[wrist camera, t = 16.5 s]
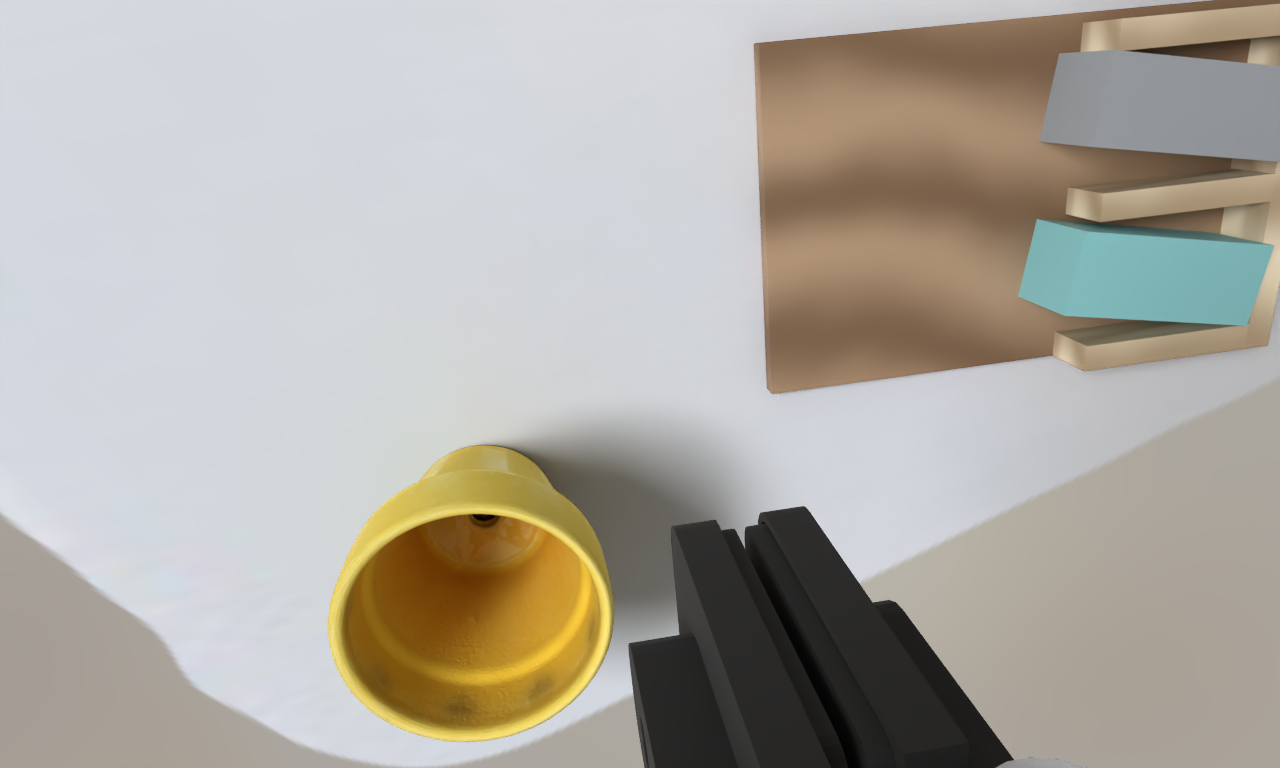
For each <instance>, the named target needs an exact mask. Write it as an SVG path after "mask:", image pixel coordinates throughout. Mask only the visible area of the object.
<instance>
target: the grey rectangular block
mask: <svg viewBox="0 0 1280 768" xmlns="http://www.w3.org/2000/svg"><path fill="white" fill-rule="evenodd" d="M1039 142H1049V143H1058V144H1068V145H1077V146H1087V147H1098V148H1111V149H1124V150H1136V151H1149V152H1161V153H1174V154H1187V155H1199V156H1212V157H1225V158H1237V159H1250V160H1263V161H1275V162H1280V66H1270V65H1260V64H1250V63H1240V62H1230V61H1221V60H1211V59H1201V58H1191V57H1181V56H1171V55H1161V54H1151V53H1141V52H1131V51H1121V50H1106V51H1089V52H1073V53H1059V57H1058V61H1057V66H1056V70H1055V74H1054V79H1053V83H1052V88H1051V92H1050V96H1049V101H1048V105H1047V110H1046V114H1045V118H1044V123H1043V127H1042V131H1041V136H1040V140H1039Z"/></svg>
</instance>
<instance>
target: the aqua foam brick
mask: <svg viewBox="0 0 1280 768" xmlns="http://www.w3.org/2000/svg"><path fill="white" fill-rule="evenodd" d="M1273 248H1274V245H1270V244H1265V243H1260V242H1256V241H1251V240H1246V239H1241V238H1237V237H1232V236H1227V235H1222V234H1218V233H1213V232H1203V231H1190V230H1177V229H1164V228H1151V227H1137V226H1124V225H1111V224H1098V223H1084V222H1071V221H1058V220H1045V219H1037V221H1036V225H1035V229H1034V233H1033V238H1032V242H1031V246H1030V250H1029V254H1028V258H1027V262H1026V266H1025V270H1024V274H1023V278H1022V283H1021V287H1020V291H1019V295H1018V297H1021V298H1023V299H1025V300H1028V301H1030V302H1033V303H1035V304H1037V305H1040V306H1042V307H1045V308H1047V309H1049V310H1052V311H1054V312H1057V313H1059V314H1061V315H1064V316H1076V317H1094V318H1112V319H1131V320H1149V321H1167V322H1185V323H1204V324H1222V325H1240V326H1247V324H1248V321H1249V318H1250V315H1251V312H1252V309H1253V306H1254V304H1255V301H1256V298H1257V295H1258V292H1259V289H1260V286H1261V283H1262V280H1263V277H1264V274H1265V271H1266V268H1267V265H1268V263H1269V260H1270V257H1271V254H1272V251H1273Z"/></svg>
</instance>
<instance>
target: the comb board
mask: <svg viewBox="0 0 1280 768" xmlns="http://www.w3.org/2000/svg"><path fill="white" fill-rule="evenodd" d="M1106 50H1121V51H1131V52H1141V53H1151V54H1161V55H1171V56H1181V57H1191V58H1201V59H1211V60H1221V61H1230V62H1240V63H1250V64H1260V65H1270V66H1280V0H1213V1H1202V2H1192V3H1181V4H1170V5H1160V6H1149V7H1138V8H1127V9H1117V10H1106V11H1095V12H1085V13H1074V14H1063V15H1052V16H1042V17H1031V18H1020V19H1010V20H999V21H988V22H978V23H967V24H956V25H945V26H935V27H924V28H913V29H903V30H892V31H881V32H870V33H860V34H849V35H838V36H828V37H817V38H806V39H795V40H785V41H774V42H763V43H756V44H754V59H755V86H756V112H757V138H758V165H759V191H760V217H761V244H762V270H763V296H764V322H765V349H766V375H767V389H768V390H769V391H770V393H771V394H777V393H784V392H791V391H799V390H806V389H813V388H820V387H828V386H835V385H842V384H849V383H857V382H864V381H871V380H878V379H885V378H893V377H900V376H907V375H914V374H922V373H929V372H936V371H943V370H951V369H958V368H965V367H972V366H979V365H987V364H994V363H1001V362H1008V361H1016V360H1023V359H1030V358H1037V357H1045V356H1052V355H1053V356H1055V357H1057V358H1059V359H1061V360H1063V361H1065V362H1067V363H1069V364H1071V365H1073V366H1075V367H1077V368H1079V369H1081V370H1083V371H1091V370H1098V369H1105V368H1112V367H1119V366H1126V365H1133V364H1141V363H1148V362H1155V361H1162V360H1169V359H1176V358H1183V357H1190V356H1197V355H1204V354H1211V353H1219V352H1226V351H1233V350H1240V349H1247V348H1254V347H1261V346H1268V342H1269V337H1270V331H1271V326H1272V321H1273V315H1274V310H1275V305H1276V299H1277V294H1278V289H1279V283H1280V162H1275V161H1263V160H1250V159H1237V158H1225V157H1212V156H1199V155H1187V154H1174V153H1161V152H1149V151H1136V150H1124V149H1111V148H1098V147H1087V146H1077V145H1068V144H1058V143H1049V142H1039V140H1040V136H1041V131H1042V127H1043V123H1044V118H1045V114H1046V110H1047V105H1048V101H1049V96H1050V92H1051V88H1052V83H1053V79H1054V74H1055V70H1056V66H1057V61H1058V57H1059V53H1073V52H1089V51H1106ZM1037 219H1045V220H1058V221H1071V222H1084V223H1098V224H1111V225H1124V226H1137V227H1151V228H1164V229H1177V230H1190V231H1203V232H1213V233H1218V234H1222V235H1227V236H1232V237H1237V238H1241V239H1246V240H1251V241H1256V242H1260V243H1265V244H1270V245H1274V248H1273V251H1272V254H1271V257H1270V260H1269V263H1268V265H1267V268H1266V271H1265V274H1264V277H1263V280H1262V283H1261V286H1260V289H1259V292H1258V295H1257V298H1256V301H1255V304H1254V306H1253V309H1252V312H1251V315H1250V318H1249V321H1248V324H1247V326H1240V325H1222V324H1204V323H1185V322H1167V321H1149V320H1131V319H1112V318H1094V317H1076V316H1064V315H1061V314H1059V313H1057V312H1054V311H1052V310H1049V309H1047V308H1045V307H1042V306H1040V305H1037V304H1035V303H1033V302H1030V301H1028V300H1025V299H1023V298H1021V297H1018V295H1019V291H1020V287H1021V283H1022V278H1023V274H1024V270H1025V266H1026V262H1027V258H1028V254H1029V250H1030V246H1031V242H1032V238H1033V233H1034V229H1035V225H1036V221H1037Z"/></svg>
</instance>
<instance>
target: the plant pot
mask: <svg viewBox="0 0 1280 768" xmlns="http://www.w3.org/2000/svg"><path fill="white" fill-rule="evenodd" d="M472 514H490V515H496V516H495V517H494V518H493V519H490V520H487V521H480V520H477V519H476V518H474V517H473V515H472ZM613 623H614V602H613V594H612V588H611V583H610V578H609V573H608V569H607V565H606V561H605V558H604V554H603V551H602V548H601V545H600V543H599V540H598V538H597V536H596V534H595V532H594V530H593V528H592V527H591V525H590V524H589V522H588V521H587V519H586V518H585V517H584V515H583V514H582V513H581V512H580V511H579V510H578V508H577V507H576V506H575V505H574V504H572V503H571V502H570V501H569V500H568V499H567V498H565V497H564V496H563V495H562V494H560V493H559V492H557V491H556V490H554V488H553V487H552V485H551V483H550V482H549V480H548V479H547V477H546V476H545V474H544V473H543V471H542V470H541V469H540V468H539V467H538V466H537V465H536V464H535V463H534V462H533V461H531V460H530V459H528V458H527V457H525V456H524V455H522V454H520V453H518V452H516V451H513V450H511V449H507V448H503V447H498V446H489V445H480V446H471V447H466V448H462V449H459V450H456V451H454V452H452V453H450V454H448V455H446V456H445V457H443V458H442V459H440V460H439V461H437V462H436V463H435V464H434V465H433V466H432V467H431V468H430V469H429V470H428V471H427V472H426V473H425V475H424V476H423V477H422V478H421V479H420V481H419V482H417V483H415V484H413V485H411V486H409V487H407V488H405V489H404V490H402V491H400V492H399V493H397V494H396V495H394V496H393V497H392V498H390V499H389V500H388V501H387V502H386V503H384V504H383V505H382V506H381V507H380V508H379V509H378V510H377V511H376V512H375V513H374V514H373V515H372V516H371V517H370V519H369V520H368V521H367V522H366V524H365V525H364V527H363V528H362V530H361V531H360V533H359V535H358V536H357V538H356V540H355V542H354V544H353V546H352V548H351V550H350V552H349V554H348V556H347V559H346V561H345V563H344V566H343V568H342V571H341V573H340V576H339V579H338V582H337V584H336V587H335V590H334V593H333V596H332V600H331V605H330V609H329V618H328V634H329V642H330V648H331V652H332V655H333V658H334V661H335V664H336V666H337V669H338V671H339V673H340V675H341V677H342V678H343V680H344V682H345V683H346V685H347V686H348V688H349V689H350V690H351V692H352V693H353V694H354V695H355V696H356V698H357V699H358V700H359V701H360V702H361V703H362V704H364V705H365V706H366V707H367V708H368V709H369V710H370V711H372V712H373V713H374V714H376V715H377V716H378V717H380V718H381V719H383V720H385V721H387V722H388V723H390V724H392V725H394V726H396V727H398V728H400V729H403V730H405V731H408V732H410V733H413V734H417V735H420V736H423V737H428V738H433V739H438V740H443V741H453V742H476V741H487V740H494V739H499V738H503V737H507V736H511V735H515V734H518V733H520V732H523V731H526V730H528V729H531V728H533V727H535V726H537V725H539V724H541V723H543V722H545V721H547V720H548V719H550V718H552V717H553V716H554V715H556V714H557V713H559V712H560V711H562V710H563V709H564V708H565V707H567V706H568V705H569V704H570V703H572V702H573V701H574V700H575V699H576V698H577V697H578V696H579V695H580V694H581V693H582V692H583V690H584V689H585V688H586V687H587V686H588V684H589V683H590V682H591V680H592V679H593V678H594V676H595V675H596V673H597V671H598V670H599V668H600V666H601V664H602V662H603V660H604V658H605V656H606V653H607V650H608V648H609V644H610V641H611V637H612V631H613Z"/></svg>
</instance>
